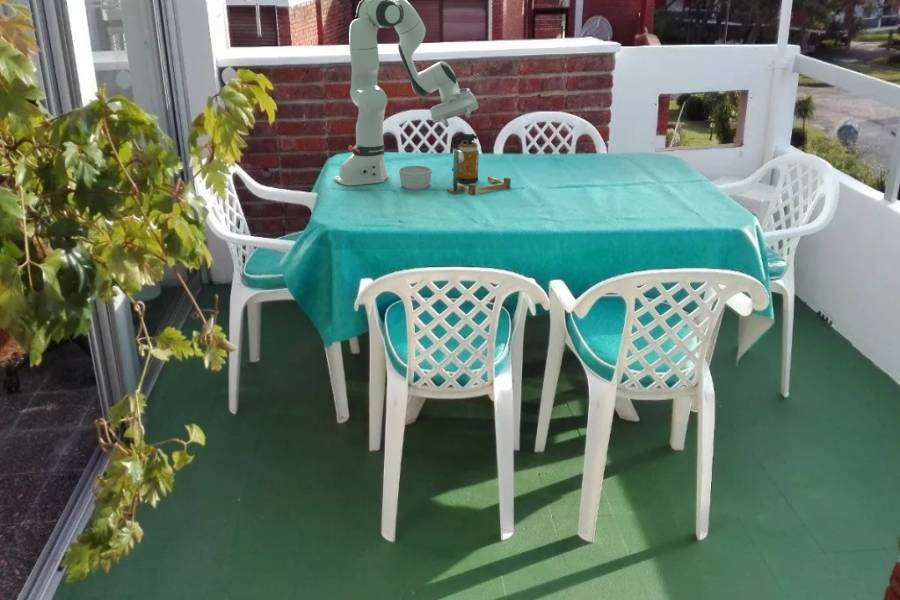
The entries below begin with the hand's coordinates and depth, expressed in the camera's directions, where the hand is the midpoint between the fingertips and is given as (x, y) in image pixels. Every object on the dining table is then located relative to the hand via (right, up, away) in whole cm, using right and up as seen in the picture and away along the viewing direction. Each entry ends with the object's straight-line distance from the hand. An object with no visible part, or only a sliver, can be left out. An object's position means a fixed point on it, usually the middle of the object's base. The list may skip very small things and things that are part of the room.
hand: (456, 120), depth 349 cm
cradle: (+10, -29, -9) cm, 32 cm away
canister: (+3, -26, 0) cm, 26 cm away
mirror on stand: (-1, -32, -15) cm, 35 cm away
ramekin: (-17, -29, -7) cm, 34 cm away
